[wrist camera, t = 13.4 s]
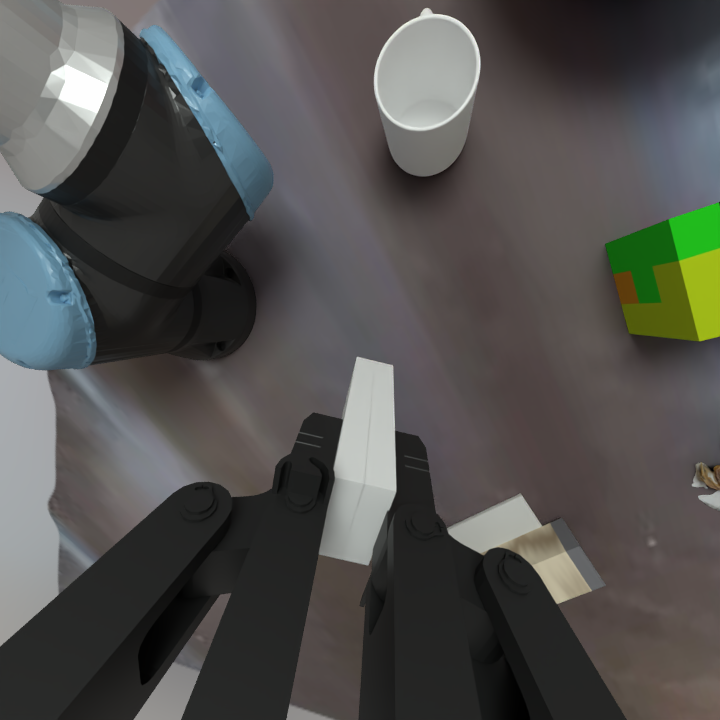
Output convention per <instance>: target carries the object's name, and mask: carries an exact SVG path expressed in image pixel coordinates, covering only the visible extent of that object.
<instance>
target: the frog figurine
mask: <svg viewBox="0 0 720 720" xmlns="http://www.w3.org/2000/svg"><path fill="white" fill-rule="evenodd" d="M713 470H714V472H712V471H711V470H710V469H709V467H708V466H707V465H705V464H704V463H702V462H701V463H698V464H696V474H695V477H694V479H693V482H694V483H693V484H692V486H695V487H705V488H706V489H708V487H706V485H707V486H709V487H710V488H714V489H716V490H718V491H716V492H715V493H714V494H712V495H700V496H698V498H699V499H700V500H701V501H702V502H704V503H705V504H706V505H707V506H709V507H712V508H714V509H716V510H719V511H720V465H716V466H715V467H714V469H713Z"/></svg>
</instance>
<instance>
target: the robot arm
mask: <svg viewBox="0 0 720 720" xmlns="http://www.w3.org/2000/svg"><path fill="white" fill-rule="evenodd" d="M140 38H141V39H138V38H137V37H136V36H135V35H134V34H133V33H132V32H131V31H130V30H129V29H128V28H127V27H126V26H125V25H124V24H123V23H122V22H121V21H120V20H119V19H118V18H117V17H116V16H114V15H113V14H112V13H111V12H110V11H109V10H107V9H105V8H99V7H89V6H77V5H66V4H63V3H62V2H60V1H58V0H0V152H1V154H2V155H3V157H4V158H5V160H6V161H7V163H8V165H9V166H10V168H11V169H12V171H13V172H14V174H15V176H16V177H17V179H18V181H19V182H20V184H21V185H22V186H23V187H24V188H26V189H27V190H29V191H31V192H33V193H36V194H38V195H40V196H42V197H44V198H43V200H42V202H41V203H40V205H39V206H38V208H37V209H36V211H35V213H34V214H33V215H32V216H31V217H29V218H27V217H25V216H23V215H21V214H18V213H14V212H4V213H0V354H1V355H2V356H3V357H5V358H6V359H8V360H10V361H11V362H13V363H15V364H17V365H20V366H22V367H25V368H29V369H35V370H55V369H70V368H73V369H82V368H85V367H88V366H89V365H95V364H101V363H107V362H114V361H120V360H126V359H132V358H138V357H145V356H151V355H157V354H162V353H168V354H172V355H176V356H180V357H184V358H188V359H193V360H209V359H214V358H219V357H223V356H226V355H228V354H230V353H232V352H233V351H235V350H236V349H237V348H239V347H240V346H241V345H242V344H243V342H244V341H245V340H246V338H247V337H248V335H249V334H250V331H251V329H252V327H253V324H254V320H255V315H256V298H255V292H254V288H253V285H252V282H251V280H250V278H249V276H248V274H247V272H246V271H245V269H244V268H243V267H242V265H241V264H240V263H239V262H238V261H237V260H236V259H235V258H234V257H232V256H231V255H229V254H228V253H226V252H224V249H225V248H226V247H227V246H228V244H229V243H230V242H231V241H232V240H233V238H234V237H235V236H236V235H237V234H238V232H239V231H240V230H241V229H242V227H243V226H244V225H245V224H246V223H247V221H248V220H249V221H252V220H253V218H254V213H255V211H256V210H257V209H258V207H259V206H260V205H261V203H262V202H263V200H264V199H265V198H266V196H267V195H268V194H269V192H270V191H271V189H272V186H273V171H272V168H271V165H270V163H269V162H268V160H267V159H266V157H265V156H264V154H263V153H262V151H261V150H260V149H259V147H258V146H257V144H256V143H255V142H254V140H253V139H252V138H251V137H250V135H249V134H248V133H247V131H246V130H245V129H244V127H243V126H242V125H241V124H240V122H239V121H238V120H237V119H236V117H235V116H234V115H233V113H232V112H231V111H230V110H229V108H228V107H227V106H226V105H225V103H224V102H223V101H222V100H221V98H220V97H219V96H218V95H217V94H216V92H215V91H214V90H213V89H212V88H211V87H210V86H209V85H208V83H207V81H206V80H205V79H204V78H203V77H202V75H201V74H200V73H199V72H198V71H197V69H196V68H195V66H194V65H193V64H192V62H191V61H190V60H189V59H188V58H187V56H186V55H185V54H184V53H183V52H182V50H181V49H180V48H179V47H178V46H177V44H176V43H175V42H174V41H173V40H172V39H171V38H170V36H169V35H168V34H167V33H166V32H165V31H164V30H163V29H162V28H161V27H159V26H157V25H152V26H151V27H149V28H148V29H142V31H141V33H140ZM427 461H428V459H427V452H426V447H425V446H424V444H423V443H422V441H421V440H420V438H419V437H418V436H415V435H411V434H407V433H402V432H398V431H395V419H394V382H393V365H389V364H385V363H381V362H376V361H372V360H368V359H364V358H360V357H357V358H356V362H355V366H354V370H353V374H352V378H351V382H350V386H349V390H348V394H347V398H346V402H345V406H344V410H343V415H342V419H339V418H335V417H330V416H326V415H322V414H318V413H312V414H311V415H310V416H309V417H307V418H306V419H305V420H304V421H303V424H302V426H301V429H300V432H299V434H298V436H297V439H296V442H295V444H294V447H293V449H292V452H291V454H289V455H287V456H286V457H284V458H282V459H281V460H280V461H279V463H278V464H277V465H276V468H275V474H274V480H273V487H272V489H270V490H269V491H267V492H265V493H262V494H259V495H254V496H246V497H231V495H230V493H229V491H228V490H226V489H225V488H224V487H222V486H221V485H219V484H215V483H211V482H196V483H193V484H190V485H187V486H184V487H182V488H181V489H179V490H178V491H176V492H174V493H173V494H172V495H171V496H169V497H168V498H167V499H166V500H165V501H164V502H163V503H162V504H160V505H159V506H158V507H157V508H156V509H155V510H154V511H153V512H151V513H150V514H149V515H148V516H147V517H146V518H145V519H144V520H142V521H141V522H140V523H139V524H138V525H137V526H136V527H135V528H133V529H132V530H131V531H130V532H129V533H128V534H127V535H126V536H124V537H123V538H122V539H121V540H120V541H119V542H118V543H117V544H115V545H114V546H113V547H112V548H111V549H110V550H109V551H108V552H106V553H105V554H104V555H103V556H102V557H101V558H100V559H99V560H97V561H96V562H95V563H94V564H93V565H92V566H91V567H89V568H88V569H87V570H86V571H85V572H84V573H83V574H82V575H80V576H79V577H78V578H77V579H76V580H75V581H74V582H73V583H71V584H70V585H69V586H68V587H67V588H66V589H65V590H64V591H62V592H61V593H60V594H59V595H58V596H57V597H56V598H55V599H54V600H52V601H51V602H50V603H49V604H48V605H47V606H46V607H45V608H43V609H42V610H41V611H40V612H39V613H38V614H37V615H35V616H34V617H33V618H32V619H31V620H30V621H29V622H28V623H26V624H25V625H24V626H23V627H22V628H21V629H20V630H19V631H17V632H16V633H15V634H14V635H13V636H12V637H11V638H10V639H8V640H7V641H6V642H5V643H4V644H3V645H2V646H1V647H0V720H133V719H134V718H135V716H136V715H137V714H138V712H139V711H140V709H141V708H142V707H143V705H144V704H145V702H146V701H147V699H148V698H149V696H150V695H151V693H152V692H153V691H154V689H155V688H156V686H157V685H158V683H159V682H160V680H161V679H162V677H163V676H164V675H165V673H166V672H167V670H168V669H169V667H170V666H171V665H172V663H173V662H174V660H175V659H176V657H177V656H178V654H179V653H180V652H181V650H182V649H183V647H184V646H185V644H186V643H187V641H188V640H189V639H190V637H191V636H192V634H193V633H194V631H195V630H196V628H197V627H198V626H199V624H200V623H201V621H202V620H203V618H204V617H205V615H206V614H207V613H208V611H209V610H210V608H211V607H212V605H213V604H214V602H215V601H216V600H217V598H218V597H219V595H220V594H226V593H231V596H230V598H229V601H228V603H227V606H226V608H225V611H224V614H223V616H222V619H221V621H220V624H219V626H218V629H217V631H216V634H215V636H214V639H213V641H212V644H211V646H210V649H209V651H208V654H207V656H206V659H205V661H204V664H203V666H202V669H201V671H200V674H199V676H198V679H197V681H196V684H195V686H194V689H193V691H192V694H191V696H190V699H189V701H188V704H187V706H186V709H185V712H184V714H183V716H182V719H181V720H286V718H287V713H288V708H289V703H290V697H291V692H292V687H293V682H294V677H295V672H296V667H297V662H298V657H299V652H300V646H301V641H302V636H303V631H304V626H305V621H306V616H307V611H308V606H309V601H310V595H311V590H312V585H313V580H314V575H315V570H316V565H317V560H318V555H319V554H320V555H324V556H328V557H333V558H337V559H342V560H346V561H351V562H355V563H360V564H364V565H369V562H370V560H371V557H372V554H373V557H372V572H371V575H370V578H369V580H368V583H367V585H366V588H365V590H364V593H363V595H362V599H361V602H360V606H361V607H364V605H365V603H366V605H365V622H364V639H363V655H362V672H361V688H360V705H359V720H627V719H626V718H625V716H624V714H623V713H622V711H621V709H620V708H619V706H618V704H617V703H616V701H615V700H614V698H613V696H612V695H611V693H610V691H609V690H608V688H607V686H606V685H605V683H604V681H603V680H602V678H601V676H600V675H599V673H598V671H597V670H596V668H595V666H594V665H593V663H592V661H591V660H590V658H589V657H588V655H587V653H586V652H585V650H584V648H583V647H582V645H581V643H580V642H579V640H578V638H577V637H576V635H575V633H574V632H573V630H572V628H571V627H570V625H569V623H568V622H567V620H566V618H565V617H564V615H563V614H562V612H561V610H560V609H559V607H558V605H557V604H556V602H555V600H554V599H553V597H552V595H551V594H550V592H549V590H548V589H547V587H546V585H545V584H544V582H543V580H542V579H541V577H540V576H539V574H538V573H537V572H536V570H535V569H534V568H533V566H532V565H531V564H530V563H529V562H528V561H526V560H525V559H524V558H523V557H522V556H520V555H519V554H517V553H515V552H513V551H511V550H509V549H505V548H500V547H496V548H492V549H489V550H488V551H487V553H486V554H485V555H482V554H480V553H478V552H477V551H475V550H473V549H471V548H469V547H467V546H465V545H463V544H462V543H460V542H459V541H457V540H456V539H454V538H453V537H452V536H451V535H450V534H449V533H448V530H447V528H446V525H445V523H444V522H443V521H442V519H441V518H440V517H439V516H438V514H436V511H435V505H434V498H433V492H432V485H431V478H430V473H429V465H428V462H427Z"/></svg>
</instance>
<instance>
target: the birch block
mask: <svg viewBox="0 0 720 720" xmlns="http://www.w3.org/2000/svg"><path fill="white" fill-rule="evenodd" d="M496 547H500V548H505V549H509V550H511V551H513V552H515V553H517V554H519V555H520V556H522V557H523V558H524V559H525V560H526V561H528V562H529V563H530V564H531V565H532V566H533V568H534V569H535V570H536V572H537V573H538V574H539V576H540V577H541V579H542V580H543V582H544V584H545V585H546V587H547V589H548V590H549V592H550V594H551V595H552V597H553V599H554V600H555V602H556V604H558V603H561V602H563V601H566V600H569V599H571V598H574V597H577V596H579V595H582V594H585V593H587V592H590V591H593V590H595V589H598V588H601V587H603V586H606V585H605V583H604V582H603V580H602V579H601V577H600V576H599V574H598V572H597V571H596V569H595V568H594V566H593V565H592V563H591V561H590V560H589V558H588V557H587V555H586V554H585V552H584V551H583V549H582V548H581V546H580V545H579V543H578V541H577V540H576V538H575V537H574V535H573V534H572V532H571V531H570V529H569V528H568V526H567V525H566V523H565V522H564V520H563V519H562V518H560V519H558V520H555V521H553V522H551V523H549V524H546V525H544V526H542V527H540V528H537V529H535V530H533V531H530V532H528V533H526V534H524V535H521V536H519V537H517V538H514V539H512V540H510V541H508V542H505V543H503V544H501V545H499V546H496ZM496 547H494V548H496ZM487 551H488V550H487ZM487 551H485V552H483V553H480V554H482V555H485V554H486V553H487Z"/></svg>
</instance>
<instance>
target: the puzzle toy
mask: <svg viewBox="0 0 720 720" xmlns="http://www.w3.org/2000/svg"><path fill="white" fill-rule="evenodd" d="M605 246H606V249H607V253H608V257H609V261H610V264H611V268H612V272H613V276H614V279H615V283H616V287H617V290H618V294H619V298H620V302H621V305H622V309H623V313H624V317H625V320H626V324H627V328H628V331H629V334H637V335H646V336H655V337H664V338H673V339H682V340H690V341H703V340H707V339H711V338H715V337H719V336H720V202H719V203H716V204H713V205H710V206H707V207H704V208H701V209H698V210H695V211H692V212H689V213H686V214H683V215H680V216H677V217H674V218H671V219H668V220H666V221H663V222H661V223H658V224H655V225H653V226H650V227H648V228H645V229H642V230H640V231H637V232H635V233H632V234H630V235H627V236H624V237H622V238H619V239H617V240H614V241H611V242H609V243H606V244H605Z"/></svg>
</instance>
